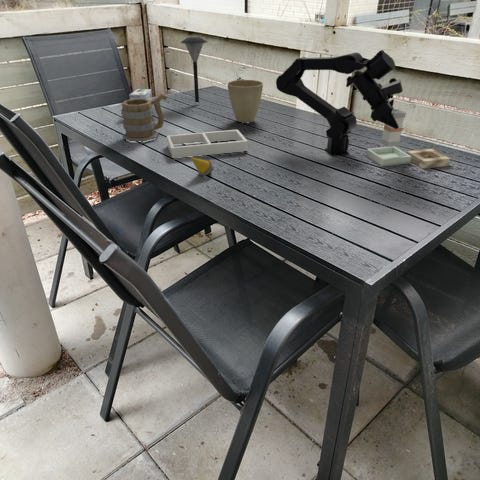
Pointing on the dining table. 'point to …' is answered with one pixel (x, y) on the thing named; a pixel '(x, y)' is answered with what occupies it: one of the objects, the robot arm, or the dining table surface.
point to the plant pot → (245, 98)
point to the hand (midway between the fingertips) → (397, 125)
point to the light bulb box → (141, 94)
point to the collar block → (433, 158)
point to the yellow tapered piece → (202, 166)
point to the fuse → (393, 130)
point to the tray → (388, 156)
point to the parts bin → (207, 143)
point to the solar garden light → (194, 57)
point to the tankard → (142, 118)
